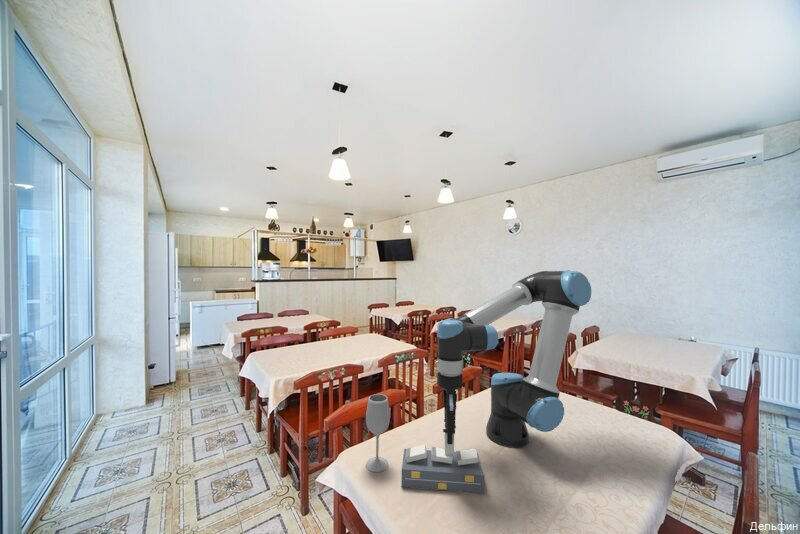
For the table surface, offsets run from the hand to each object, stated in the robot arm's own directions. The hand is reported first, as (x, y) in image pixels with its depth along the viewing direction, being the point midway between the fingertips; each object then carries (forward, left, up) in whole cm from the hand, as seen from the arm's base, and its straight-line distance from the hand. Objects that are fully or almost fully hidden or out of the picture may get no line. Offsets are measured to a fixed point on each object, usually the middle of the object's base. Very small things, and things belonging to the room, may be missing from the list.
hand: (449, 452), depth 88 cm
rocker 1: (+10, 0, -1) cm, 10 cm away
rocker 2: (+2, 0, -1) cm, 3 cm away
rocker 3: (-5, 0, -1) cm, 5 cm away
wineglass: (+22, -4, -8) cm, 24 cm away
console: (+2, 0, -8) cm, 8 cm away
